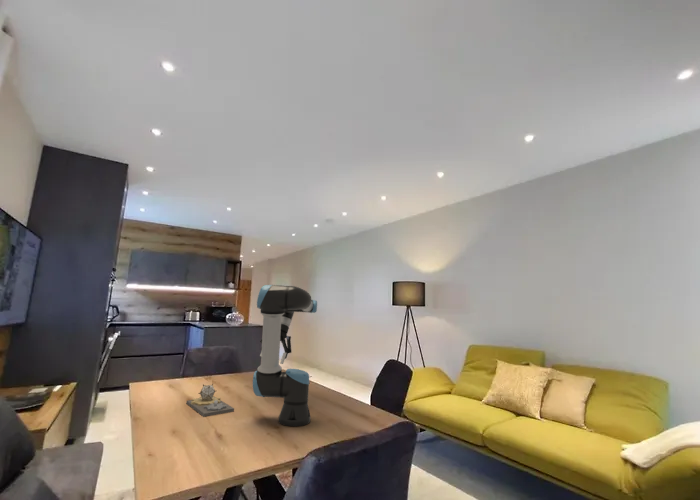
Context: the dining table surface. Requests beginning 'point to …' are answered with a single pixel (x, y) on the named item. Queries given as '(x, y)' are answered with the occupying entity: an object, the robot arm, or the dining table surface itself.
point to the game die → (207, 392)
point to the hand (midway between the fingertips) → (271, 360)
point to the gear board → (209, 406)
